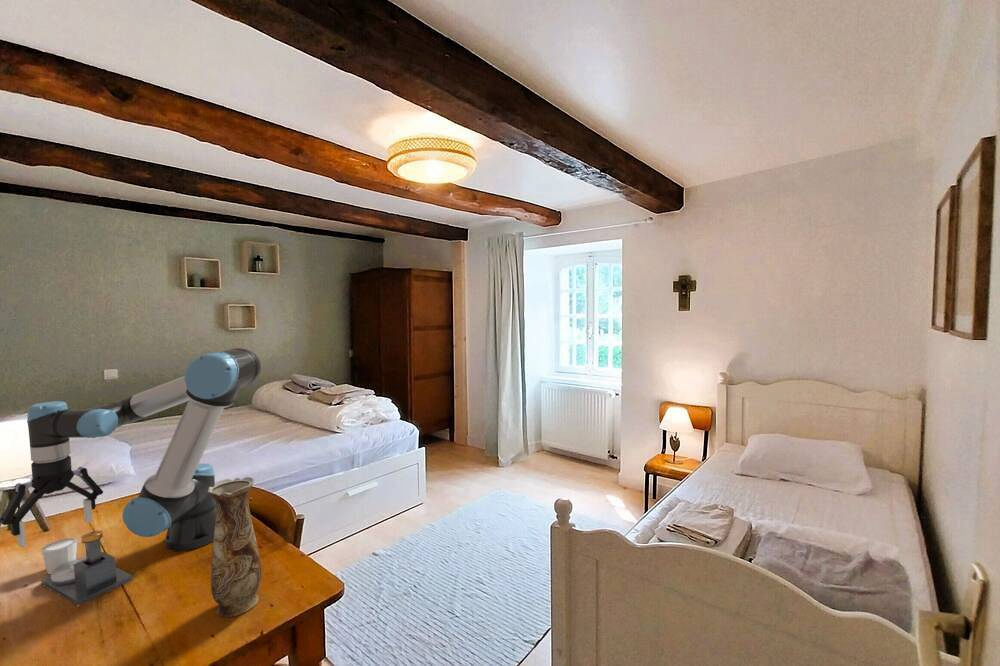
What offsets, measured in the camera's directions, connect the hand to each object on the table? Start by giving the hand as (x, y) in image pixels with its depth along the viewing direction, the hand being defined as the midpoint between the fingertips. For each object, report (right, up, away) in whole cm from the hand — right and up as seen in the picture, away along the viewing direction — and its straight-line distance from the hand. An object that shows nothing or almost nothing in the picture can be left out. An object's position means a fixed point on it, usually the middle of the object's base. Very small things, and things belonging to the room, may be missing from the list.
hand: (57, 532), depth 119 cm
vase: (+60, -11, -15) cm, 62 cm away
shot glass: (+1, -11, +1) cm, 11 cm away
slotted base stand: (+14, -11, -5) cm, 18 cm away
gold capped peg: (+18, -5, -8) cm, 20 cm away
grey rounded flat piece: (+9, -9, -3) cm, 13 cm away
